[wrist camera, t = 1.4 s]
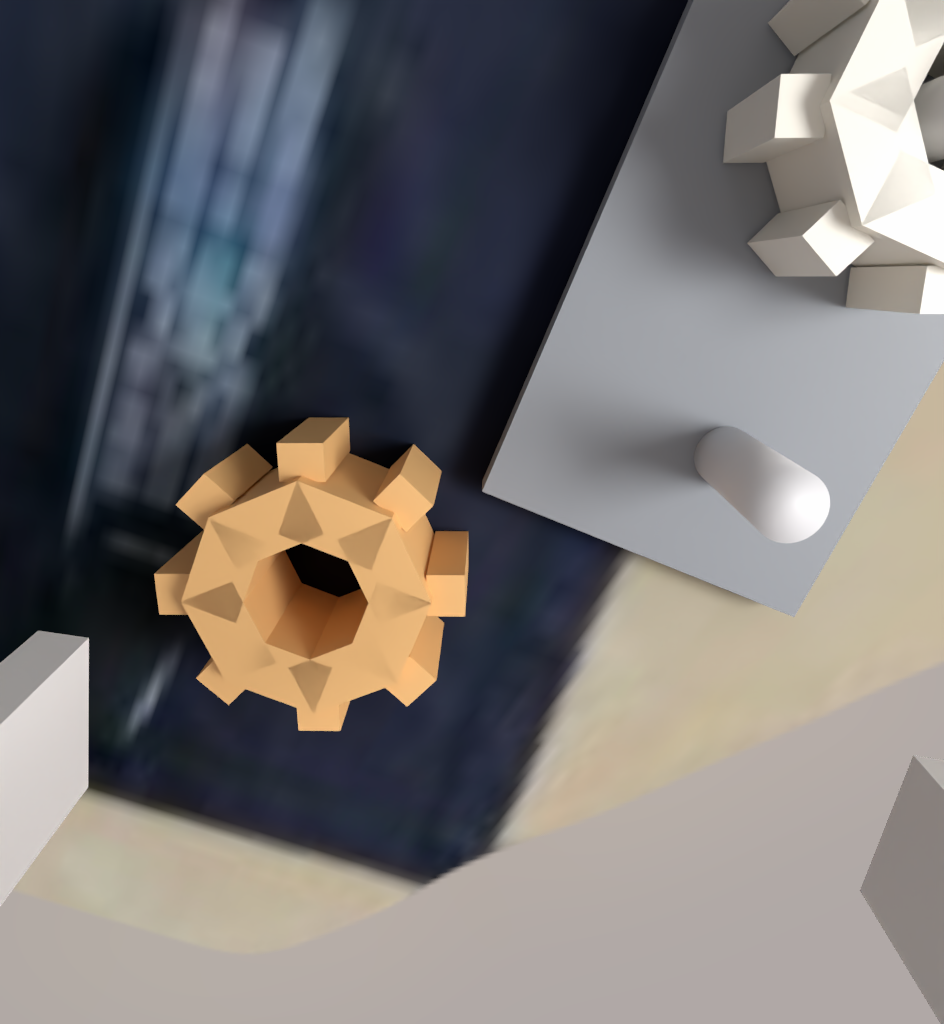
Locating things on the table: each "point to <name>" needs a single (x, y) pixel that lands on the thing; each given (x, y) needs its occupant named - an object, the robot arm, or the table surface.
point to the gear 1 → (301, 608)
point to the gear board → (712, 349)
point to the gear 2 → (851, 151)
